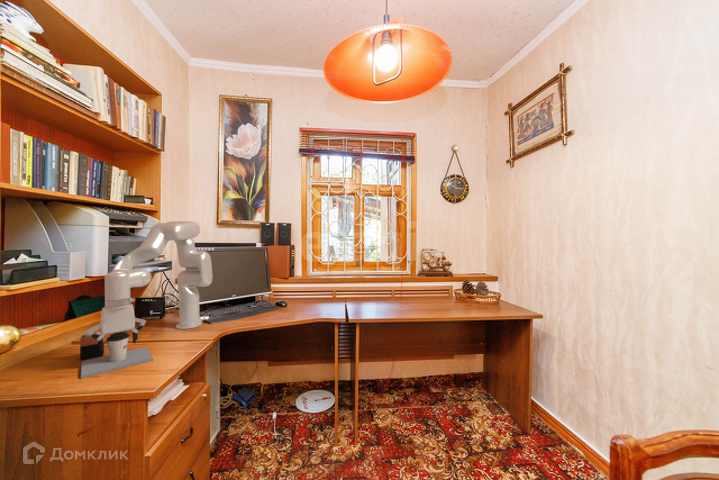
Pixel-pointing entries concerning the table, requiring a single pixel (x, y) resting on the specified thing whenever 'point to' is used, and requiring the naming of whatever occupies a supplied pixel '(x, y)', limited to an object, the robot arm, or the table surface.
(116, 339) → the coffee cup
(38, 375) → the table surface
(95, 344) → the battery
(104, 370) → the desk mat
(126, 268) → the robot arm
